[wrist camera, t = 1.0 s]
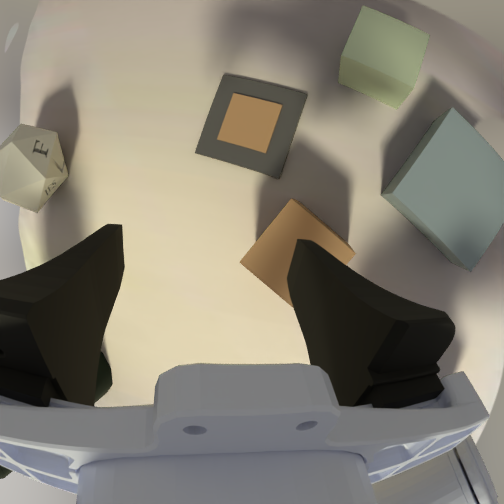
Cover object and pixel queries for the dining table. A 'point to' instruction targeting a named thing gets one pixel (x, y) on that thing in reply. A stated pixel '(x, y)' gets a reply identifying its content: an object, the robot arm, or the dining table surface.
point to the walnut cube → (290, 246)
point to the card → (251, 124)
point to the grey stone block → (31, 167)
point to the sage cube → (382, 57)
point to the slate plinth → (452, 190)
